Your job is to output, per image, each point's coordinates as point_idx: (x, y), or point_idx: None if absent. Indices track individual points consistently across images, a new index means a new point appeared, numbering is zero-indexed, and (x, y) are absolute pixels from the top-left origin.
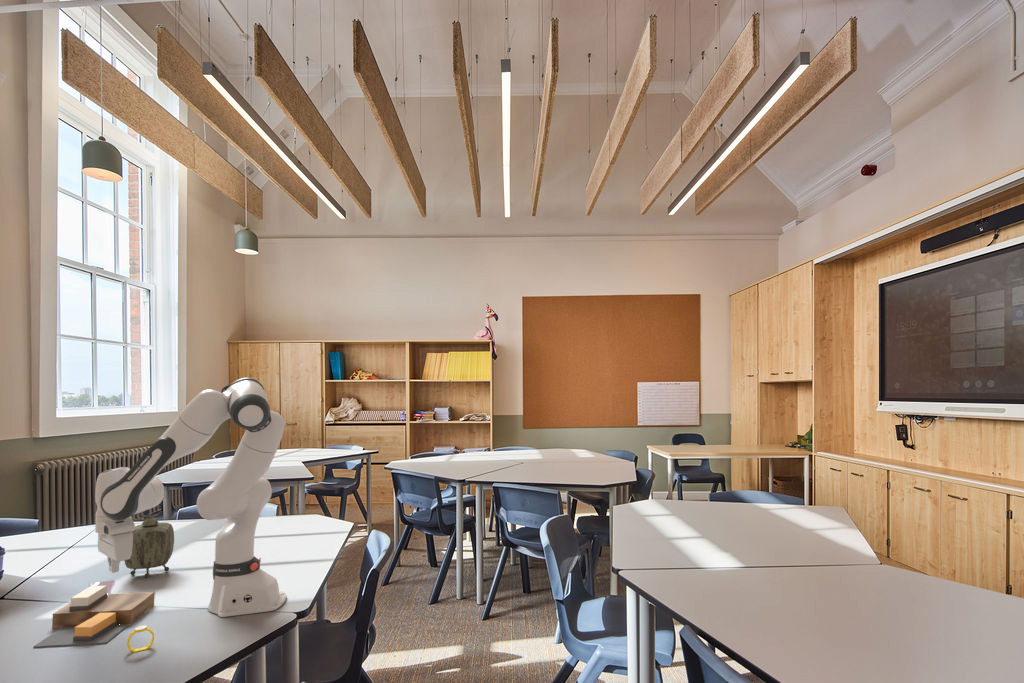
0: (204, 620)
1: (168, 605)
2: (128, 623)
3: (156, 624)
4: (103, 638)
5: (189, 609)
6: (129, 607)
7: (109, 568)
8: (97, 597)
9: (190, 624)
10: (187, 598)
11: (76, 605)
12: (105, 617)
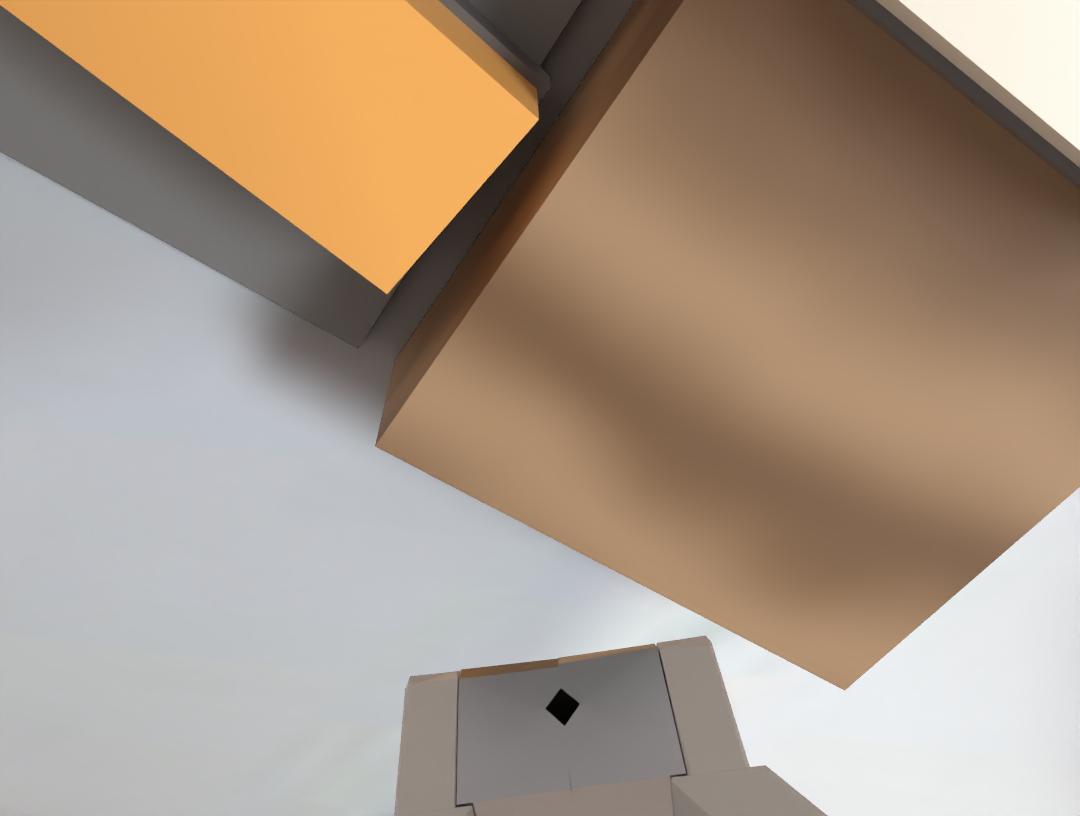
0: (94, 796)
1: None
2: (405, 345)
3: (223, 535)
4: (31, 68)
5: None
6: (487, 441)
7: (665, 694)
8: (1066, 153)
9: (57, 720)
10: None
11: None
12: (269, 161)
